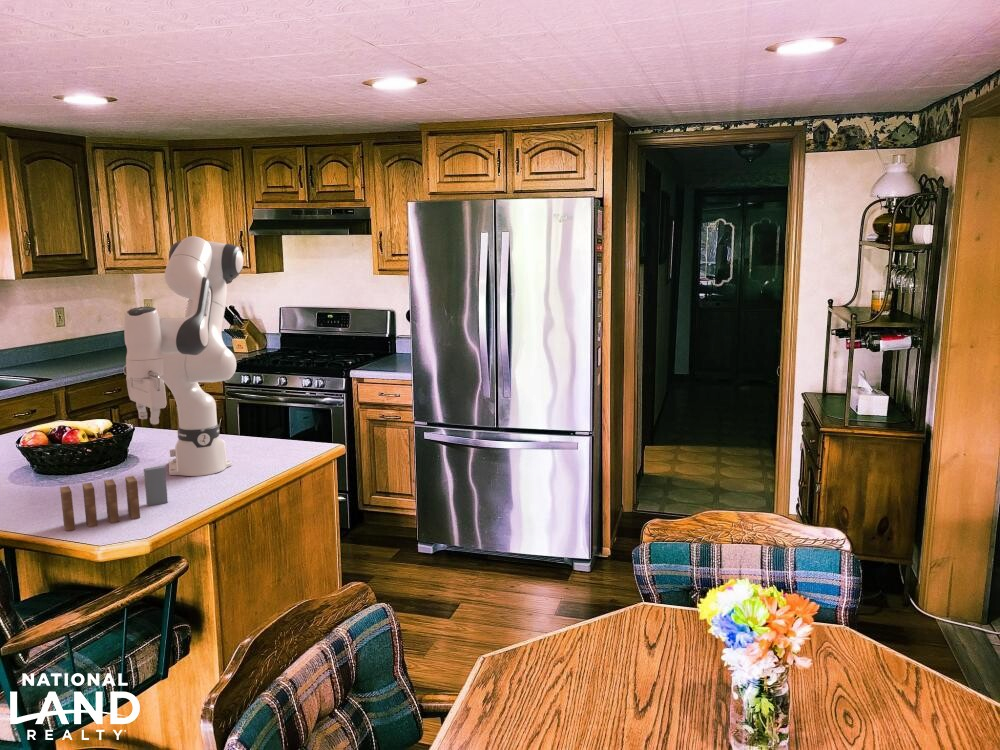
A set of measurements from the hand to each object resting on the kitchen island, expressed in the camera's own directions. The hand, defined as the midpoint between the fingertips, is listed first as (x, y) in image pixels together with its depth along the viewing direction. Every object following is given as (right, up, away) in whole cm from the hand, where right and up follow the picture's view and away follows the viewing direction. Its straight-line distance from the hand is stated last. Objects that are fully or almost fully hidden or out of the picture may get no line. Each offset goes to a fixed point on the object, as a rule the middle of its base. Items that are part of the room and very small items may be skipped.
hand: (148, 421), depth 211 cm
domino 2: (-11, -26, -8) cm, 29 cm away
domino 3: (-7, -25, -5) cm, 26 cm away
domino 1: (-15, -26, -11) cm, 32 cm away
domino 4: (-3, -25, -2) cm, 25 cm away
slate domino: (-1, -23, +7) cm, 24 cm away
